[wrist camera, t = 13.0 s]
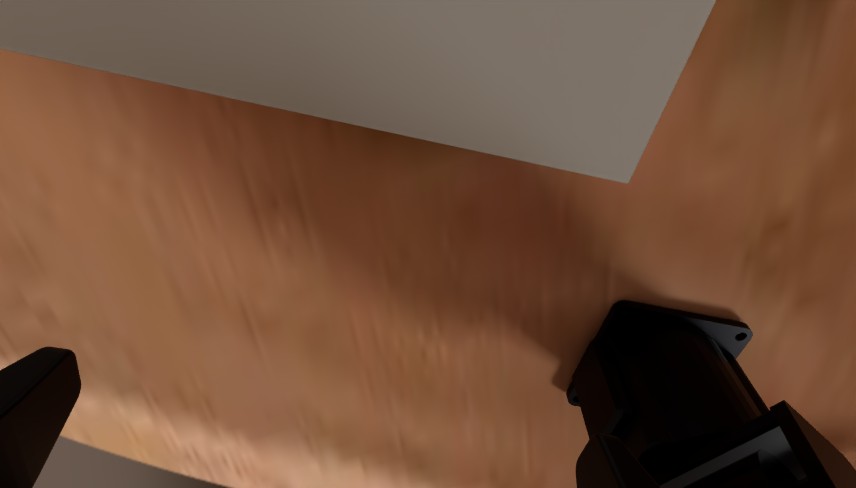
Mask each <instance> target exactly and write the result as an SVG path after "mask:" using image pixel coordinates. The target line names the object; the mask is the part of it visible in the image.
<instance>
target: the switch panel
mask: <svg viewBox="0 0 856 488" xmlns="http://www.w3.org/2000/svg"><path fill="white" fill-rule="evenodd" d="M715 2H716V0H0V49H4V50H8V51H13V52H17V53H22V54H27V55H31V56H36V57H41V58H45V59H50V60H55V61H59V62H64V63H69V64H73V65H78V66H83V67H87V68H92V69H97V70H101V71H106V72H111V73H115V74H120V75H125V76H129V77H134V78H138V79H143V80H148V81H152V82H157V83H162V84H166V85H171V86H176V87H180V88H185V89H190V90H194V91H199V92H204V93H208V94H213V95H218V96H222V97H227V98H232V99H236V100H241V101H245V102H250V103H255V104H259V105H264V106H269V107H273V108H278V109H283V110H287V111H292V112H297V113H301V114H306V115H311V116H315V117H320V118H325V119H329V120H334V121H339V122H343V123H348V124H352V125H357V126H362V127H366V128H371V129H376V130H380V131H385V132H390V133H394V134H399V135H404V136H408V137H413V138H418V139H422V140H427V141H432V142H436V143H441V144H446V145H450V146H455V147H460V148H464V149H469V150H473V151H478V152H483V153H487V154H492V155H497V156H501V157H506V158H511V159H515V160H520V161H525V162H529V163H534V164H539V165H543V166H548V167H553V168H557V169H562V170H567V171H571V172H576V173H580V174H585V175H590V176H594V177H599V178H604V179H608V180H613V181H618V182H622V183H627V184H628V183H629V181H630V179H631V177H632V175H633V173H634V171H635V168H636V166H637V164H638V162H639V160H640V158H641V156H642V154H643V152H644V150H645V148H646V145H647V143H648V141H649V139H650V137H651V135H652V133H653V131H654V129H655V127H656V125H657V123H658V120H659V118H660V116H661V114H662V112H663V110H664V108H665V106H666V104H667V102H668V100H669V97H670V95H671V93H672V91H673V89H674V87H675V85H676V83H677V81H678V79H679V77H680V75H681V72H682V70H683V68H684V66H685V64H686V62H687V60H688V58H689V56H690V54H691V52H692V50H693V47H694V45H695V43H696V41H697V39H698V37H699V35H700V33H701V31H702V29H703V27H704V24H705V22H706V20H707V18H708V16H709V14H710V12H711V10H712V8H713V6H714V4H715Z"/></svg>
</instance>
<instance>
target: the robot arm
mask: <svg viewBox="0 0 856 488" xmlns="http://www.w3.org/2000/svg"><path fill="white" fill-rule="evenodd" d="M623 311H627V312H626V313H623V314H620V313H621V312H623ZM738 333H740V334H738ZM752 336H753V332H752V331H751V330H750V328H749V327H748V326H747V324H745V323H743V322H738V321H733V320H727V319H722V318H717V317H711V316H706V315H701V314H696V313H690V312H685V311H680V310H674V309H669V308H664V307H658V306H653V305H648V304H643V303H637V302H632V301H619V302H617V303H615V304H614V305H613V306H612V308H611V310H610V312H609V313H608V315H607V317H606V319H605V321H604V323H603V325H602V326H601V328H600V330H599V332H598V334H597V336H596V338H595V339H593V340H592V341H591V342H590V344H589V346H588V348H587V350H586V352H585V354H584V355H583V357H582V359H581V361H580V363H579V365H578V367H577V369H576V370H575V372H574V374H573V376H572V382H571V384H570V386H569V388H568V390H567V392H566V395H567V399H568V402H569V403H570V404H571V405H574V406H580V407H581V411H582V414H583V418H584V421H585V425H586V428H587V432H588V435H589V439H590V440H589V441H588V443H587V445H586V446H585V448H584V449H583V451H582V453H581V454H580V456H579V458H578V460H577V463H576V482H577V488H856V470H855V469H854V468H853V466H852V465H851V464H850V462H849V461H848V460H847V459H846V458H845V456H844V455H843V454H842V453H840V452H839V451H838V450H837V449H836V448H835V447H834V446H833V445H832V444H831V443H830V442H829V441H828V440H827V439H825V438H824V437H823V436H822V435H821V434H820V433H819V432H818V431H817V430H816V429H815V428H814V427H813V426H812V425H810V424H809V423H808V422H807V421H806V420H805V419H804V418H803V417H802V416H801V415H800V414H799V413H798V412H797V411H796V410H794V409H793V408H792V407H791V406H790V405H789V404H788V403H787V402H786V401H785V400H783V401H781V402H779V403H777V404H776V405H774V406H772V407H770V411H769V409H768V408H767V406H766V405H765V403H764V402H763V400H762V399H761V397H760V396H759V394H758V393H757V391H756V390H755V388H754V387H753V385H752V384H751V382H750V381H749V379H748V378H747V376H746V375H745V373H744V371H743V370H742V368H741V367H740V365H739V364H738V362H737V361H736V358H737V357H738V355H739V354H740V353H741V351H742V350H743V349H744V347H745V346H746V345H747V343H748V342H749V341H750V339H751V338H752ZM80 390H81V380H80V375H79V370H78V365H77V360H76V356H75V354H74V352H73V351H72V350H69V349H62V348H56V347H44V348H41V349H39V350H37V351H35V352H33V353H31V354H29V355H28V356H26V357H24V358H22V359H20V360H18V361H17V362H15V363H13V364H11V365H9V366H7V367H6V368H4V369H2V370H0V488H32V487H33V485H34V483H35V482H36V480H37V478H38V476H39V474H40V472H41V470H42V468H43V466H44V464H45V463H46V460H47V458H48V457H49V455H50V452H51V450H52V449H53V447H54V445H55V443H56V441H57V439H58V437H59V435H60V433H61V431H62V429H63V427H64V425H65V423H66V421H67V419H68V417H69V415H70V413H71V411H72V409H73V407H74V405H75V403H76V401H77V399H78V397H79V394H80Z"/></svg>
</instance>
